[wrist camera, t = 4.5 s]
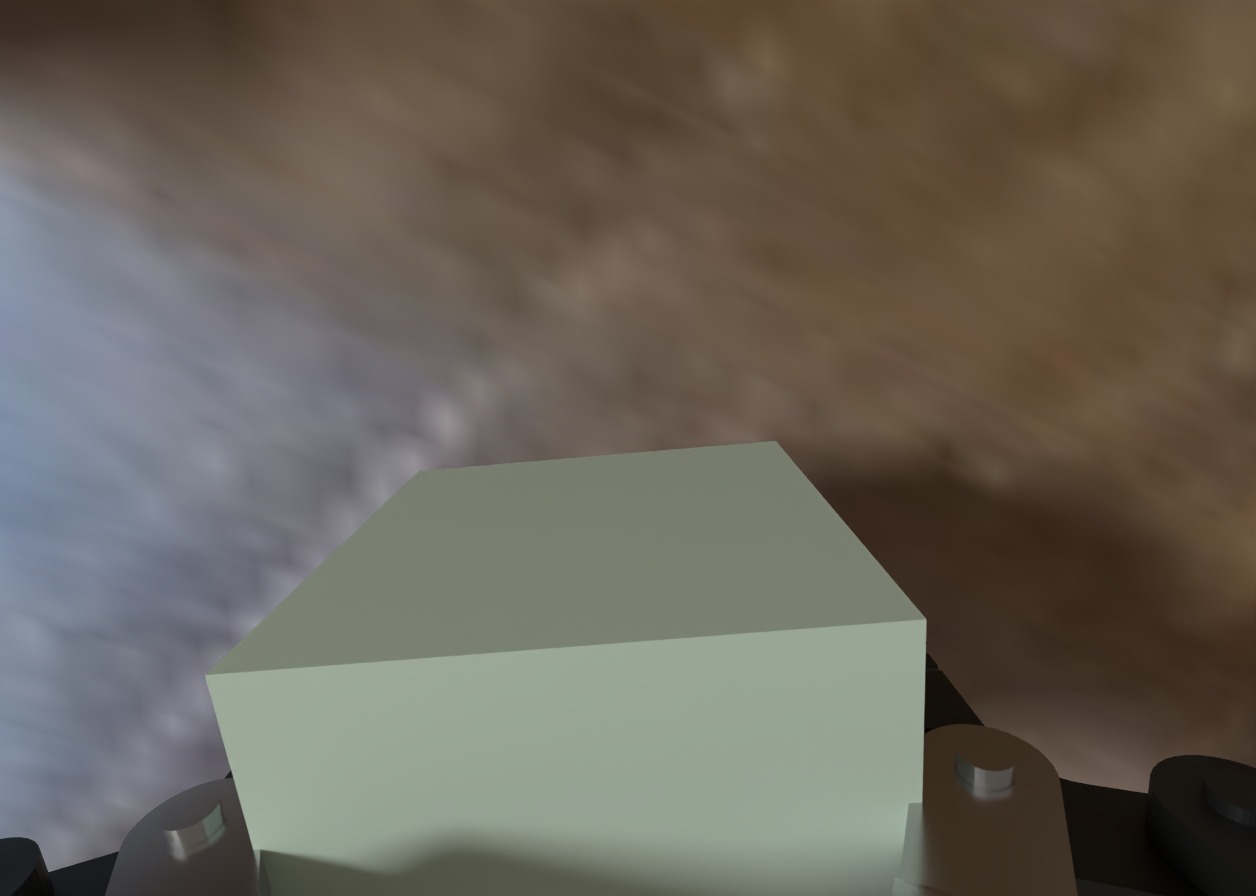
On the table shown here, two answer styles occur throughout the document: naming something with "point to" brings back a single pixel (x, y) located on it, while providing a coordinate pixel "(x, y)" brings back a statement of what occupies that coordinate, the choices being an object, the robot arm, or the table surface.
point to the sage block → (585, 690)
